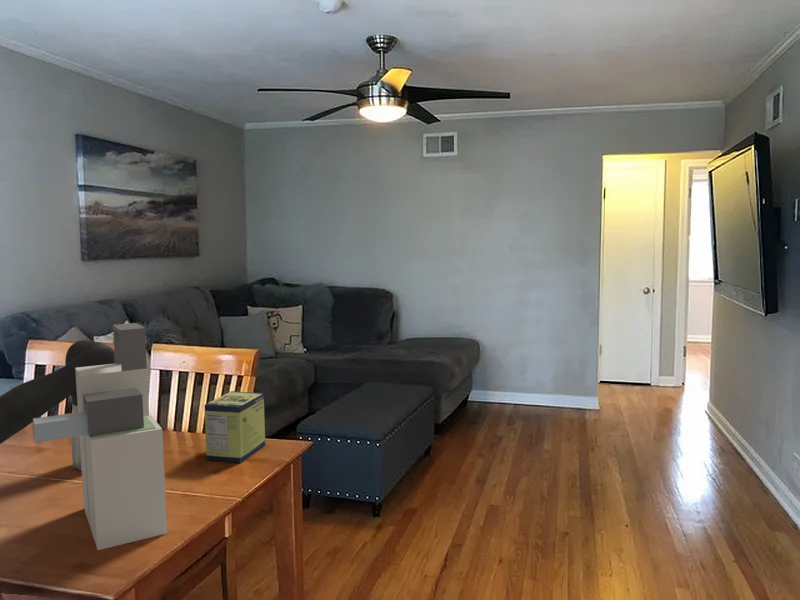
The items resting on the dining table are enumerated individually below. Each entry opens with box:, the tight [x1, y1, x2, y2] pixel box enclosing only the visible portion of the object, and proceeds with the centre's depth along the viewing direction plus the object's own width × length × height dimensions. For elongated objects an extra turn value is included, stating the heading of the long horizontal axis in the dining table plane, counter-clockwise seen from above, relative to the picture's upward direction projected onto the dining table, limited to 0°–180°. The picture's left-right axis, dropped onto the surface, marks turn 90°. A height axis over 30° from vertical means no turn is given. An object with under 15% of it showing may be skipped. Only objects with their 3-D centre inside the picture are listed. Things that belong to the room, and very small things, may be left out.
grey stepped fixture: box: [75, 322, 168, 551], centre depth 136 cm, size 13×22×41 cm, turn 32°
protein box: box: [203, 390, 266, 464], centre depth 179 cm, size 10×16×16 cm
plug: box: [32, 388, 144, 444], centre depth 127 cm, size 19×7×7 cm, turn 122°
